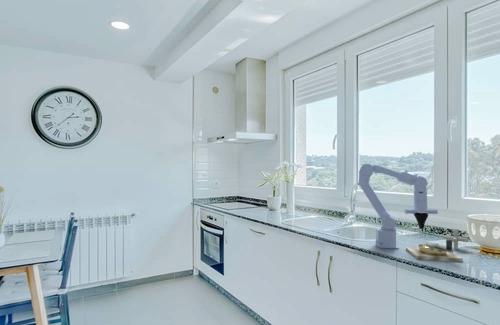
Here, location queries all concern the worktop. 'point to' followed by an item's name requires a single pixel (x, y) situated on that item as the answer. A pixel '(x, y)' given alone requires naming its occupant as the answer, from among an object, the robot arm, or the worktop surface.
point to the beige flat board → (433, 256)
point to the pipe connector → (456, 239)
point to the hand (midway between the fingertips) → (421, 228)
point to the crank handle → (436, 248)
